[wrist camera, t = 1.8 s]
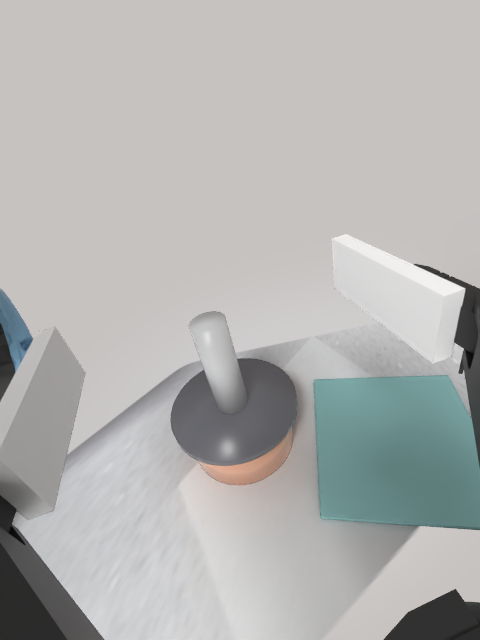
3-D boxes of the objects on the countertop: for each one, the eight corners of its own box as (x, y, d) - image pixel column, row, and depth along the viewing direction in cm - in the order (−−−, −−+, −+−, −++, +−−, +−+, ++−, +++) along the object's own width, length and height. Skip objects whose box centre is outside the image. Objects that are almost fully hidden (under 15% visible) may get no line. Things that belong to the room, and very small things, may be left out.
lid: (154, 463, 29) (102, 380, 23) (192, 365, 39) (164, 291, 33) (296, 468, 26) (279, 373, 20) (297, 361, 36) (286, 277, 30)
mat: (320, 518, 27) (320, 516, 27) (313, 381, 40) (313, 379, 40) (529, 533, 23) (530, 531, 23) (447, 377, 36) (447, 375, 36)
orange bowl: (183, 482, 32) (167, 453, 29) (208, 399, 41) (198, 371, 38) (291, 487, 29) (285, 457, 27) (293, 397, 38) (288, 367, 36)
